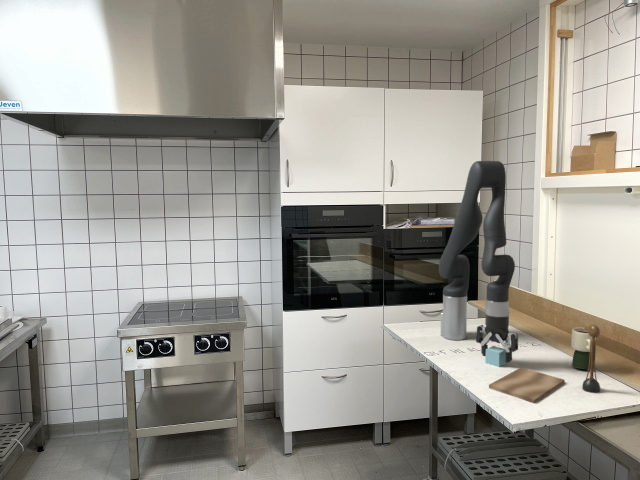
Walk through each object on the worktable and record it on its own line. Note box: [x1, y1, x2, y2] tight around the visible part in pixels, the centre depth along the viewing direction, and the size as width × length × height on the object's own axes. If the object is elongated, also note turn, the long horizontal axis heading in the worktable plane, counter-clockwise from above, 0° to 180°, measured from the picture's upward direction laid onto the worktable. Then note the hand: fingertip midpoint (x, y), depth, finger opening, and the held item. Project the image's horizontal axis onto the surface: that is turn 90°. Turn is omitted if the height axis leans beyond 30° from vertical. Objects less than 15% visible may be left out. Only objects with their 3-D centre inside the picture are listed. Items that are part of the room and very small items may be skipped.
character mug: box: [570, 326, 597, 371], centre depth 162 cm, size 11×7×13 cm, turn 173°
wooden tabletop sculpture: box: [581, 323, 601, 394], centre depth 145 cm, size 6×5×20 cm
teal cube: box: [485, 345, 507, 368], centre depth 168 cm, size 5×5×5 cm
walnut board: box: [488, 366, 566, 404], centre depth 150 cm, size 14×20×1 cm
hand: (496, 358), depth 168 cm, fingers open, 8 cm apart
